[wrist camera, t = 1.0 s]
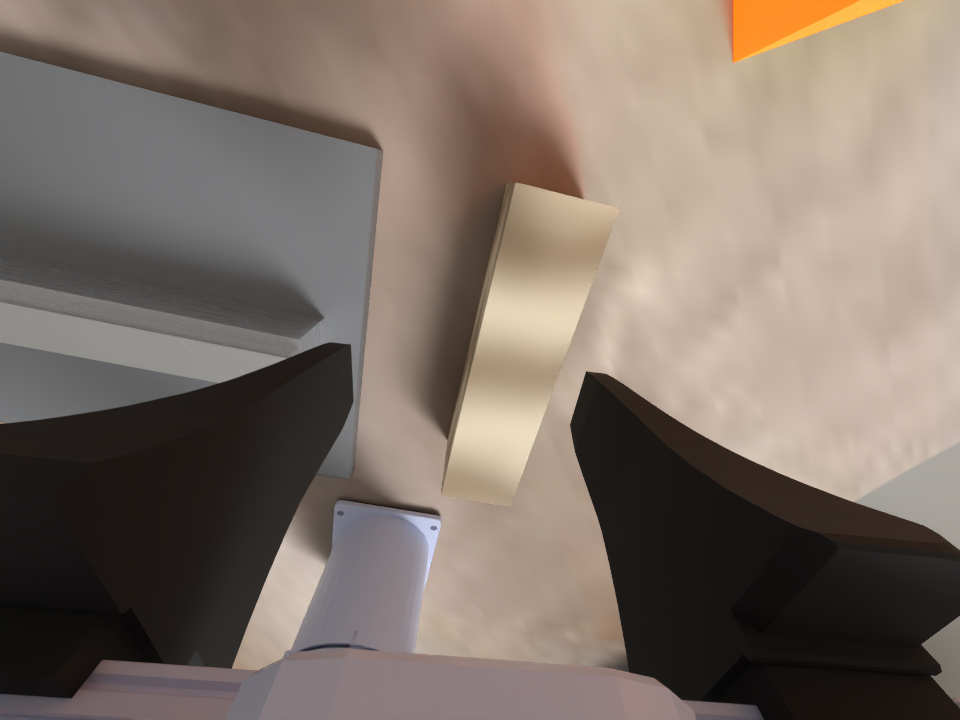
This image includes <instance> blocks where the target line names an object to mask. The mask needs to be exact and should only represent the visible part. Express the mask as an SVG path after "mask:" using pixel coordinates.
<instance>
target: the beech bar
mask: <svg viewBox="0 0 960 720" xmlns="http://www.w3.org/2000/svg"><path fill="white" fill-rule="evenodd" d="M618 211H619V208H616V207H612V206H608V205H604V204H600V203H596V202H592V201H588V200H584V199H580V198H576V197H572V196H569V195H565V194H561V193H557V192H553V191H549V190H545V189H541V188H537V187H533V186H529V185H525V184H521V183H517V182H513V183H507V184H506V189H505V193H504V198H503V202H502V206H501V211H500V215H499V219H498V224H497V228H496V232H495V237H494V241H493V245H492V250H491V254H490V259H489V263H488V267H487V272H486V276H485V280H484V285H483V289H482V293H481V298H480V302H479V306H478V311H477V315H476V319H475V324H474V328H473V333H472V337H471V341H470V346H469V350H468V354H467V359H466V363H465V367H464V372H463V376H462V380H461V385H460V389H459V394H458V398H457V402H456V407H455V411H454V415H453V420H452V424H451V428H450V433H449V437H448V442H447V450H446V458H445V466H444V474H443V482H442V490H441V496H447V497H453V498H459V499H465V500H472V501H478V502H484V503H490V504H496V505H503V506H509V507H510V506H511V503H512V500H513V497H514V495H515V492H516V489H517V486H518V484H519V481H520V478H521V476H522V473H523V470H524V467H525V465H526V462H527V459H528V456H529V454H530V451H531V448H532V446H533V443H534V440H535V437H536V435H537V432H538V429H539V426H540V424H541V421H542V418H543V415H544V413H545V410H546V407H547V405H548V402H549V399H550V396H551V394H552V391H553V388H554V385H555V383H556V380H557V377H558V375H559V372H560V369H561V366H562V364H563V361H564V358H565V355H566V353H567V350H568V347H569V345H570V342H571V339H572V336H573V334H574V331H575V328H576V325H577V323H578V320H579V317H580V315H581V312H582V309H583V306H584V304H585V301H586V298H587V295H588V293H589V290H590V287H591V285H592V282H593V279H594V276H595V274H596V271H597V268H598V265H599V263H600V260H601V257H602V255H603V252H604V249H605V246H606V244H607V241H608V238H609V235H610V233H611V230H612V227H613V225H614V222H615V219H616V216H617V214H618Z"/></svg>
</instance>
